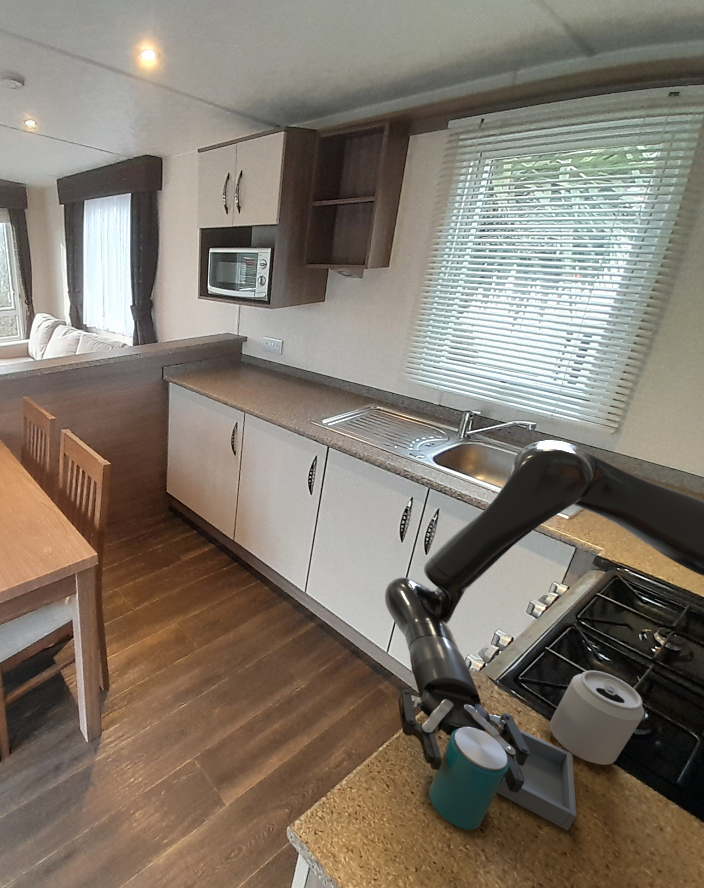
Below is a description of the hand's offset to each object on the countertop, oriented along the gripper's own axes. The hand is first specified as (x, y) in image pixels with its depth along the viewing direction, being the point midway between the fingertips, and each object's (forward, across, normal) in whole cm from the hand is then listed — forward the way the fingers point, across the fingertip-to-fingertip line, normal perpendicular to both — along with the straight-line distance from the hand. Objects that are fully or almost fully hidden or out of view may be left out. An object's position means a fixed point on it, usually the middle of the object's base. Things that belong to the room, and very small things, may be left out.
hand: (476, 776), depth 60 cm
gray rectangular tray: (-9, +9, +8) cm, 15 cm away
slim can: (-1, 0, +8) cm, 8 cm away
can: (-17, +20, +8) cm, 28 cm away
